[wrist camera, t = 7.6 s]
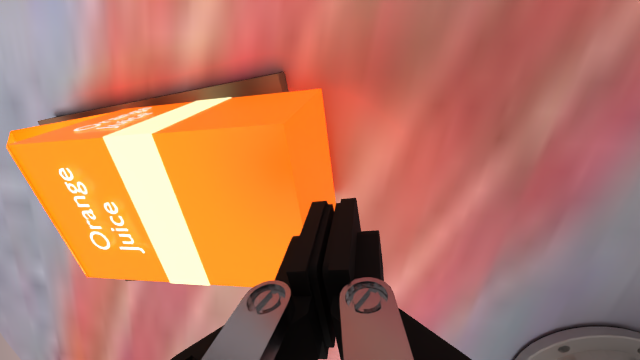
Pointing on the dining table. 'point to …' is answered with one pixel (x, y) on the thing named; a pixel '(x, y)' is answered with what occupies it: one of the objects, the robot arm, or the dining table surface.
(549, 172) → the dining table surface
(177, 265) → the orange juice
